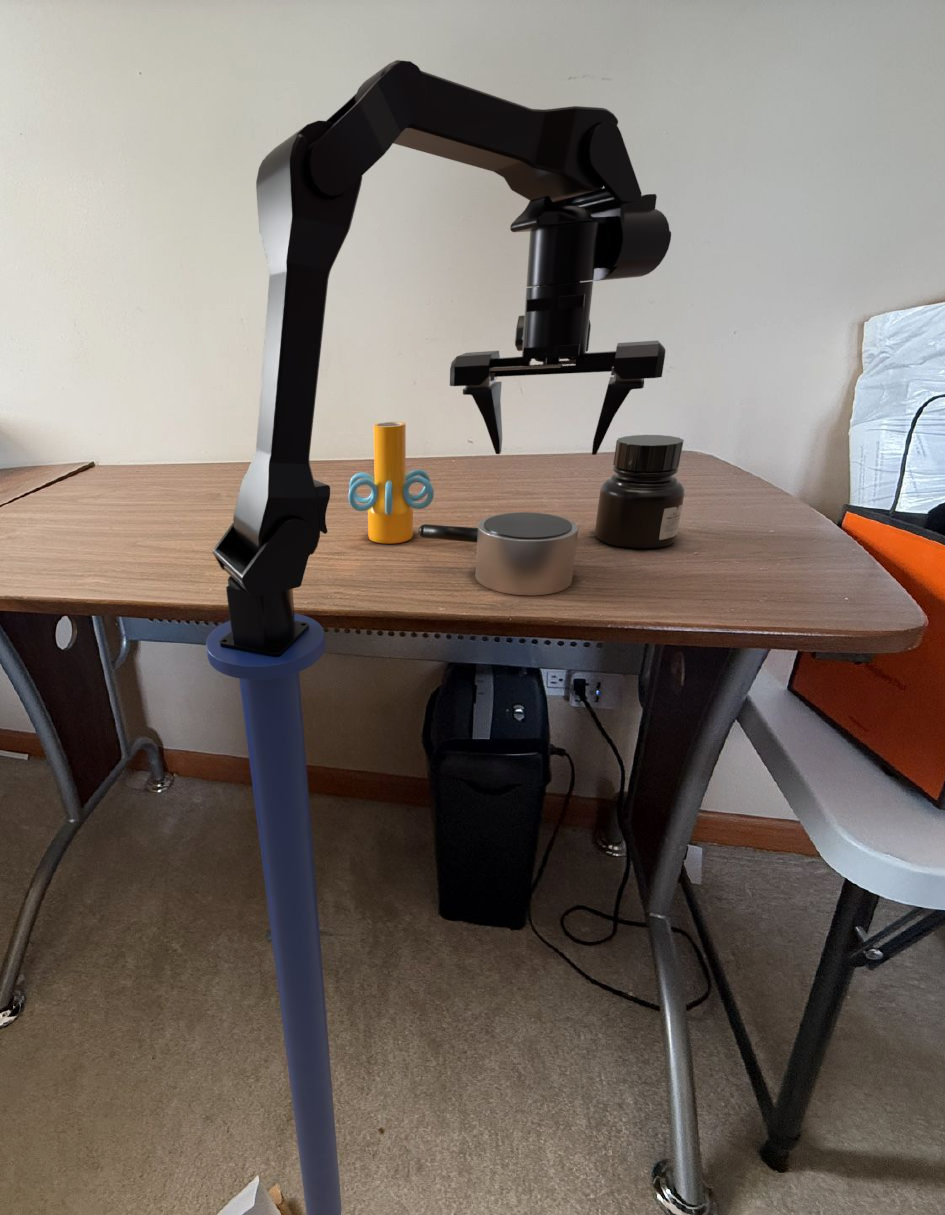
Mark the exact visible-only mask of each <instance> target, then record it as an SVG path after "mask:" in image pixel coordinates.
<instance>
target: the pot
mask: <svg viewBox="0 0 945 1215" xmlns="http://www.w3.org/2000/svg"><path fill="white" fill-rule="evenodd" d="M417 531H418V532H417V533H418V536H419V537H420V538H422V539H429V540H443V541H454V542H468V543H476V555H475V556H476V558H475V580H476V581H477V582H478V583H479V584H480V585H482V586H483V587H484V588H487V589H489V590H492V591H495V592H498V593H501V594H502V593H503V594H507V595H514V596H527V597H528V596H530V597H531V596H545V595H552V594H557V593H559V592H562V591H564V590H567V588H570V586H571V585H572V583H573V575H574V566H575V558H576V550H577V542H578V535H579V526H578V524H577V523H576V522H575V521H574V520H571V519H569V518H567V517H564V516H561V515H555V514H552V513H551V514H550V513H543V512H533V511H532V512H526V511H524V512H522V511H518V512H505V513H499V514H494V515H490V516H488V517H484V518H483V519H481V520H480V521H479V522H478V524H477V527H472V526H471V527H468V526H457V525H456V526H455V525H441V524H430V523H429V524H427V523H424V524H422V525H420V526H419V527H418V530H417Z"/></svg>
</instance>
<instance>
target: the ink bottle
mask: <svg viewBox="0 0 945 1215" xmlns="http://www.w3.org/2000/svg"><path fill="white" fill-rule="evenodd" d="M615 443H616V444H615V450H614V456H613V464H612V465H613V467H612V471H613V473H614V474H612V475H611V476H610V478H608V479H606V480H605V481H604V482H602V484H601V486H600V491H599V497H598V505H597V513H596V520H595V527H594V535H595V537H596V538H598V539H599V540H600V541H601V542H603V543H606V544H609V545H611V546H616V547H622V548H630V549H631V548H632V549H656V548H662V547H667V546H669V545H671V544H673V543H674V542H675V541H676V539H677V534H678V531H679V525H680V520H681V515H682V509H683V504H684V499H685V492H686V490H685V487H684V485H683V483H681V482H680V481H678V478H677V477H676V476H675V475H676V474H678V472H679V468H680V463H681V457H682V451H683V447H684V446H683V445H684V439H683V438H680V437H679V436H673V435H662V434H634V435H626V436H621V437H618V438H617V440H616V442H615Z"/></svg>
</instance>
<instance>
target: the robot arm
mask: <svg viewBox="0 0 945 1215" xmlns="http://www.w3.org/2000/svg"><path fill="white" fill-rule="evenodd" d="M618 125H619V119H618V118H617V117H616V115H615V114H614V113H613V112H612V111H611V110H609V109H607V108H605V107H596V106H595V107H594V106H592V107H591V106H579V105H578V106H577V105H574V106H566V107H565V106H564V107H556V108H548V109H539V108H531V107H528V106H525V105H522V104H519V103H516V102H513V101H511V100H507V99H504V98H501V97H499V96H497V95H493V94H490V93H488V92H485V91H481V90H479V89H476V88H472V87H470V86H468V85H464V84H461V83H458V82H455V81H452V80H449V79H447V78H444V77H441V76H438V75H436V74H435V75H434V74H432V73H429V72H426V71H423V70H421V68H420V67H419V65H417V64H415V63H414V62H412V60H411V61H410V60H401V59H397V60H394V61H391V62H389V63H388V64H387V65H385V66H384V67H382V68H381V69H379V71H377V72H375V73H374V74H372V75H371V76H370V77H369V78H367V79H366V80H364V81H363V83H361V85H360V86H359V88H358V89H357V91H356V93H355V94H354V95H353V96H351V97H350V99H349V100H348V101H346V102H345V103H344V104H343V105H342V106H341V107H340V108H339V109H337V111H336V112H334V113H333V114H332V115H331V116H330V117H328V118H327V119H326V120H320V119H319V120H315V121H312V122H310V123H307V124H306V125H304V126H303V127H301V128H300V129H299V130H298V131H296V132H295V133H294V134H291V136H289V137H288V138H287V139H285V140H284V141H282V142H281V143H280V144H278V145H277V146H276V147H274V148H273V149H272V150H271V151H270V152H269V153H268V154H267V155H265V156H264V158H263V159H262V161H261V162H260V165H259V167H258V171H257V176H256V183H255V190H256V204H257V206H256V207H257V218H258V231H259V235H260V239H261V243H262V247H263V251H264V255H265V259H266V262H267V265H268V275H269V276H268V288H267V289H268V290H267V303H266V316H265V327H264V338H263V339H264V340H263V353H262V354H263V355H262V366H261V379H260V391H259V392H260V393H259V405H258V419H257V429H256V430H257V431H256V442H255V443H256V444H255V452H254V455H253V458H252V460H251V462H250V465H249V466H248V468H247V470H246V472H245V475H244V477H243V478H242V480H241V483H240V487H239V491H238V496H237V500H236V503H235V508H234V512H233V518H232V520H233V521H232V523H231V525H230V526H229V527H228V529H227V530H226V532H225V533H224V534H223V535H222V537H221V538H220V539H219V541H218V542H217V544H216V545H215V547H214V548H213V549H212V555H213V556H214V558H215V560H216V562H217V564H218V566H219V568H220V569H221V570H222V571H225V573H227V575H228V576H229V577H228V578H227V586H226V587H225V590H226V598H227V606H228V613H229V621H230V623H231V632H230V633H228V634H227V635H226V636H225V637H223V638H222V639H221V640H220V641H219V644H220V647H223V648H229V649H234V650H239V651H244V652H250V653H255V654H260V655H265V656H271V657H280V656H282V655H283V654H284V653H285V652H286V651H287V650H288V649H289V648H290V647H291V646H292V645H293V644H294V643H295V642H296V641H297V640H298V639H299V638H300V637H301V636H302V635H303V634H304V633H305V632H306V631H307V630H308V629H309V623H306V622H300V621H294V617H295V616H294V613H295V605H294V604H295V603H294V593H293V589H298V588H300V587H301V586H302V584H303V580H304V576H305V571H306V568H307V564H308V561H309V557H310V556H311V555H314V554H315V552H316V550H317V548H318V546H319V541H320V539H321V533H322V534H325V535H326V534H327V533H328V528H327V522H326V519H327V518H326V515H327V510H328V506H329V502H330V499H331V486H330V485H329V484H327V483H323V482H321V481H319V480H316V479H314V475H313V472H312V467H311V462H310V461H311V460H310V456H311V455H310V454H311V444H312V438H313V437H312V435H313V427H314V419H315V418H314V417H315V409H316V408H315V407H316V400H317V398H316V397H317V390H318V379H319V370H320V362H321V352H322V342H323V333H324V324H325V316H326V315H325V314H326V305H327V296H328V288H329V287H328V286H329V279H330V275H331V271H332V268H333V267H334V264H335V263H336V260H337V257H338V256H339V253H340V251H341V249H342V247H343V244H344V243H345V240H346V239H347V236H348V234H349V232H350V230H351V226H352V222H353V218H354V214H355V211H356V207H357V203H358V199H359V195H360V192H361V187H362V181H363V176H364V175H365V174H366V172H368V171H369V170H370V169H371V168H372V167H373V166H374V165H376V163H377V162H378V161H379V160H380V159H382V157H383V156H384V155H385V154H386V153H387V152H388V151H389V149H390V148H391V147H392V145H393V144H394V145H397V146H401V147H404V148H408V149H411V150H416V151H419V152H422V153H426V154H429V155H432V156H437V157H440V158H444V159H447V160H451V161H454V162H457V163H462V164H465V165H468V166H472V167H476V168H479V169H483V170H486V171H489V172H493V173H495V174H497V175H498V176H500V177H502V178H503V179H504V181H505V182H506V184H507V185H508V187H509V189H510V190H511V191H513V192H514V193H516V194H518V195H519V196H521V197H523V198H525V199H526V200H528V201H529V202H528V203H527V206H526V207H525V209H524V210H523V211H522V212H521V213H520V214H519V215H518V216H517V217H516V218H515V219H514V220H513V221H512V222H511V224H510V226H509V230H510V232H511V233H526V232H527V233H528V232H529V243H528V258H527V274H526V288H525V301H524V302H525V305H524V315H519V316H518V317H517V323H516V329H515V336H514V346H515V348H516V350H517V351H518V352H521V356H510V357H507V356H506V357H501V356H500V350H489V351H488V350H487V351H471V352H464V353H462V354H459V355H456V357H455V358H454V359H453V360H452V362H450V369H449V386H450V387H464V388H463V389H462V395H464V396H472V398H473V400H474V403H475V404H476V407H477V408H478V410H479V413H480V415H481V417H482V418H483V421H484V424H485V426H486V429H487V432H488V435H489V438H490V441H491V444H492V447H493V449H494V452H495V455H500V454H501V453H502V448H503V424H502V405H501V402H502V401H501V398H502V397H501V396H502V381H496V380H498V378H499V377H501V378H503V377H522V376H525V377H526V376H541V375H542V376H546V375H565V374H585V373H586V374H587V373H609V372H610V376H609V380H608V384H607V387H606V391H605V395H604V398H603V402H602V406H601V410H600V414H599V417H598V422H597V425H596V429H595V433H594V436H593V441H592V450H591V455H592V456H597V454H598V452H599V450H600V447H601V445H602V443H603V441H604V439H605V437H606V435H607V433H608V430H609V429H610V426H611V424H612V422H613V420H614V417H615V416H616V414H617V413H618V411H619V410H620V408H621V406H622V405H623V403H624V401H625V400H626V398H627V397H628V395H629V393H630V392H631V391H632V390H641V389H644V387H645V379H659V378H662V377H663V371H664V365H665V358H666V351H667V350H666V348H665V346H664V344H662V343H661V342H660V341H659V340H644V341H643V340H642V341H630V342H629V341H628V342H617V345H616V348H615V350H612V351H595V352H594V351H593V352H588V351H589V347H590V338H591V337H590V336H591V329H592V328H591V327H592V325H591V320H590V314H591V305H592V298H593V297H592V296H593V289H594V288H593V286H594V282H598V281H608V280H621V279H631V278H632V279H633V278H641V277H645V276H647V275H650V273H652V272H653V271H655V270H656V269H657V268H658V267H659V266H660V265H661V263H662V262H663V260H664V259H665V257H666V255H667V253H668V250H669V248H670V245H671V240H672V232H671V230H670V223H669V222H668V219H667V217H666V216H665V214H664V213H663V212H662V211H661V210H659V209H657V208H656V206H657V198H658V196H657V194H656V193H647V194H642V190H641V187H640V184H639V181H638V178H637V175H636V173H635V170H634V167H633V164H632V161H631V159H630V155H629V153H628V149H627V147H626V144H625V141H624V138H623V135H622V132H621V130H620V128H619V126H618ZM532 360H535V361H536V362H537V363H538V362H540V363H538V364H532V363H531V362H532Z"/></svg>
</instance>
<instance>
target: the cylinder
mask: <svg viewBox="0 0 945 1215" xmlns="http://www.w3.org/2000/svg"><path fill="white" fill-rule="evenodd" d="M406 425H407V424H406V422H403V421H386V422H385V421H384V422H383V421H382V422H378V423H374V424H373V466H374V467H373V468H374V471H373V472H374V475H373V476H374V477H373V476H372V475H371V474H370V473H368V472H364V471H363V472H357V473H355V474H354V475H352V477H351V478H350V480H349V484H348V486H349V487H348V488H349V490H348V494H347V499H348V503H349V505H350V507H351V508H352V509H353V510H355V511H356V512H366V511H367V533H368V534H367V536H368V539H369V540H370V541H372V542H375V543H377V544H378V543H379V544H384V545H385V544H386V545H387V544H388V545H394V544H400V543H404V542H407V541H408V542H409V540H411V539H412V538H413V536H414V509H415V510H422V509H426V508H428V507H429V506H430V505H431V503H432V502H433V500H434V497H435V495H434V494H435V492H434V487H433V485H432V483H431V479H430V476H429V473H427V472H426V471H425V470H423V469H419V468H417V469H413V470H411V471H409V472H408V473H407V474H406V469H407V468H406V465H407V463H406V462H407V461H406V460H407V459H406V458H407V454H406V450H407V449H406V446H407V444H406V443H407V442H406V441H407V438H406V437H407V433H406V432H407V430H406V429H407V428H406V427H407V426H406ZM416 483H417V484H421V485H423V488H422V490H421V491H420V492H419V493H417V494H416V495H414V494H411V493H410V488H411V485H413V484H416ZM361 486H367V487H369V488H370V490H371V491H370V494H369V495H368V496H367V497H362V496H361V495H359V494H358V493H357V491H358V490H357V489H358V488H360V487H361ZM425 496H426V498H425ZM423 498H425V500H423V501H422V502H418V501H420V500H422V499H423ZM357 502H358V503H359V504H358V503H357ZM361 504H362V505H361Z"/></svg>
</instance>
